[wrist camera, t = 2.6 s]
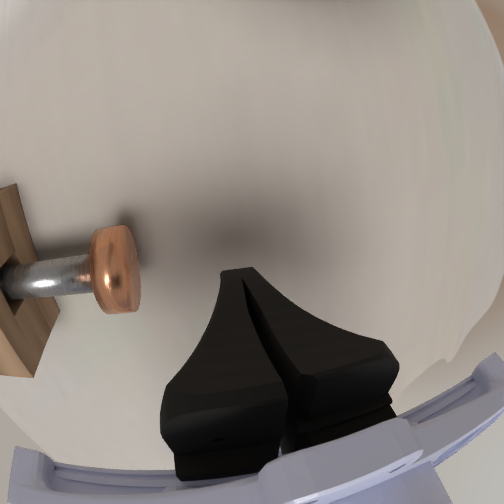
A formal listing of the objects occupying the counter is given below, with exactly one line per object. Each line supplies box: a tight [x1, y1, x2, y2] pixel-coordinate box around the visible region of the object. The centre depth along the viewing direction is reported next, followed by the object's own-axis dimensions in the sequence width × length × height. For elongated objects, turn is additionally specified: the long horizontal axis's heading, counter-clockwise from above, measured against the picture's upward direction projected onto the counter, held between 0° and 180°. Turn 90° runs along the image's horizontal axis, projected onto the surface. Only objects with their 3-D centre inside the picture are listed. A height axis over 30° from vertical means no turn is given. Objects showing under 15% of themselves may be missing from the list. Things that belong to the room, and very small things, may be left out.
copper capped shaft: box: [0, 225, 141, 314], centre depth 13 cm, size 11×4×4 cm, turn 92°
